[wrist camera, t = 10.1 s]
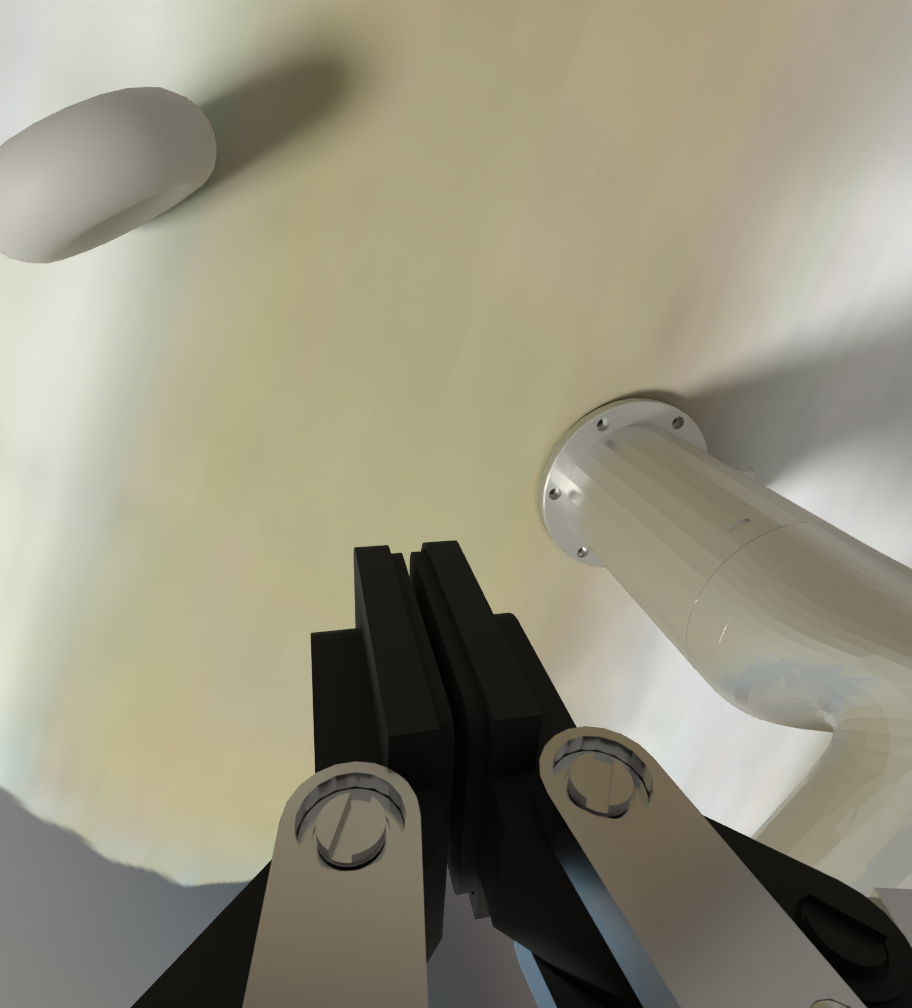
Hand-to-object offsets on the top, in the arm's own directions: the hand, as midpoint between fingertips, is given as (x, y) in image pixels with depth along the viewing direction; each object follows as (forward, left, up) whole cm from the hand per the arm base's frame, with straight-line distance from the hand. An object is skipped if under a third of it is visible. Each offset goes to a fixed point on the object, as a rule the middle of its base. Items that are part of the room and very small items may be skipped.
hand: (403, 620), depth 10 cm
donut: (+9, -7, -27) cm, 30 cm away
